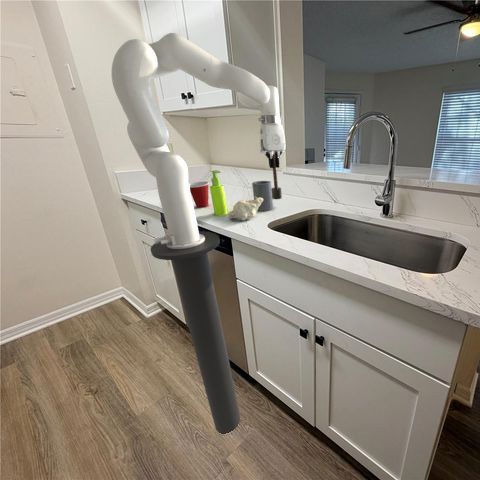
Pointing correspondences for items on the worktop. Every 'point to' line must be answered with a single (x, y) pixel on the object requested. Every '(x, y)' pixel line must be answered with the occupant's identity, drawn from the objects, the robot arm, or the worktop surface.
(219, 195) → the soap dispenser
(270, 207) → the gray cup
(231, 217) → the cream spiral shell
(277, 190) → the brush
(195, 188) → the plastic cup
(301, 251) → the worktop surface
